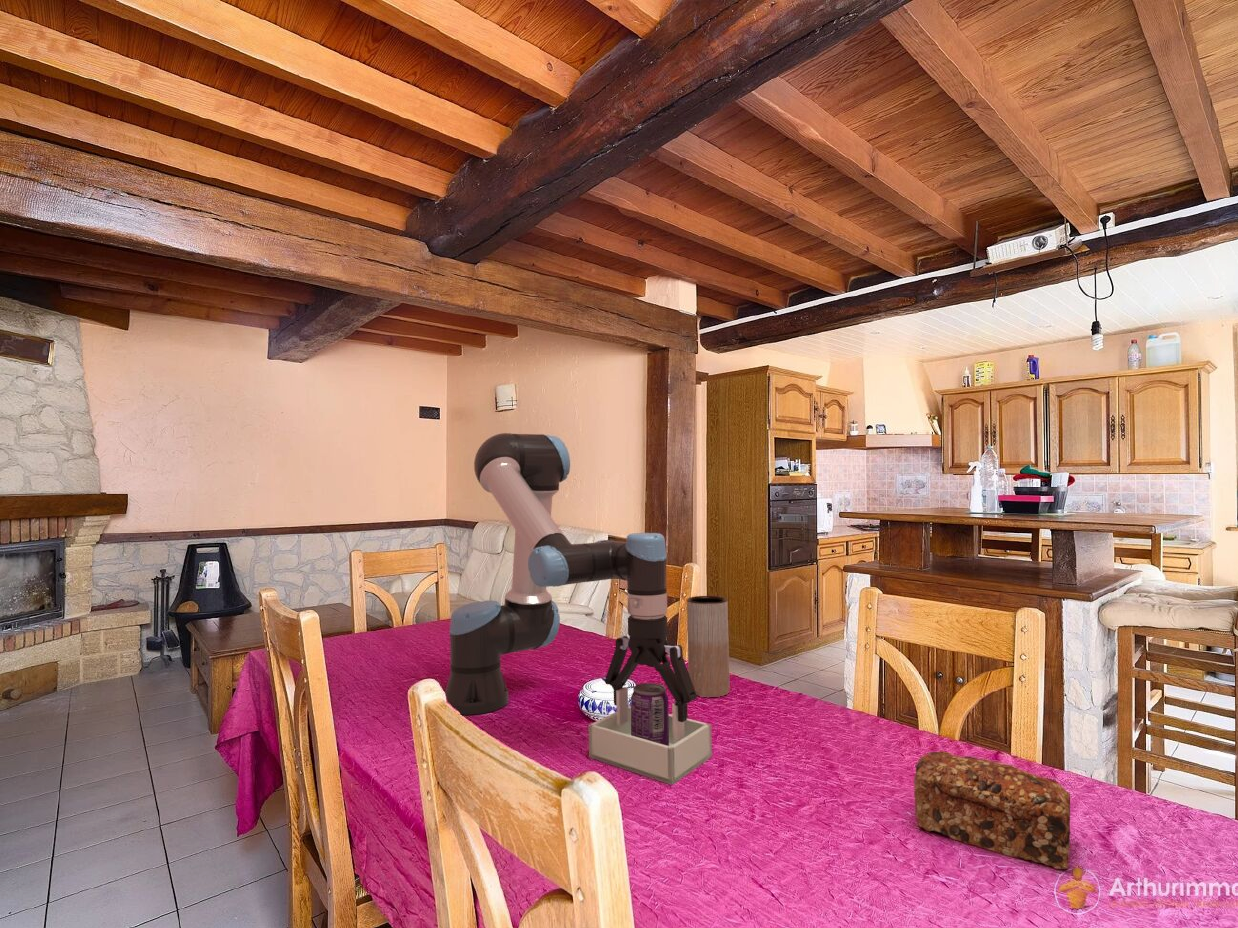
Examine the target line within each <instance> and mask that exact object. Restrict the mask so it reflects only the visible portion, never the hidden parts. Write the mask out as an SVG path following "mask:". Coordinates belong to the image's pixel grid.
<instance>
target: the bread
mask: <svg viewBox="0 0 1238 928" xmlns="http://www.w3.org/2000/svg"><path fill="white" fill-rule="evenodd" d="M914 774H915V776H914V779H913V781H914V782H913V784H914V785H913V787H914V789H913V790H914V791H913V793H914V794H913V797H914V806H915V807H914V809H915V810H914V812H915V814H916V815H915V816H916V819H917V824H918V827H919V828H921V829H924V830H925V831H926V832H929V833H930V832H932V831H934V832H937V833H941V834H942V835H943V836H946V837H949V838H950V839H953V840H954V841H958V842H962V843H964V844H969V845H972V846H974V847H975V846H976V847H978V848H981V849H984V850H988V851H991V852H994V853H997V854H1001V855H1004V856H1007V857H1011V858H1014V859H1016V858H1017V859H1018V858H1019V859H1023V860H1025V861H1028V860H1030V861H1031V862H1034V863H1040V864H1044V865H1046V866H1051V867H1052V868H1053V869H1055V870H1064V869H1065V870H1066V869H1067V868H1068V867H1069V858H1070V850H1071V849H1070V848H1071V847H1070V845H1071V844H1070V843H1071V842H1070V841H1071V822H1070V821H1071V793H1070V792H1068V791H1067V790H1066V789H1065V787H1064V786H1062V785H1061V784H1060V783H1059V781H1057V780H1055V779H1052V778H1047V777H1042V776H1039V775H1037V774H1035V773H1032V772H1029V771H1025V770H1023V769H1020V768H1017V767H1016V766H1013V765H1011V764H1006V763H1002V762H996V761H992V760H989V759H983V758H977V757H973V756H969V755H968V756H967V755H966V756H963V757H962V756H959V755H956V754H953V753H951V752H948V751H943V750H941V751H929V752H928V753H926V754H924V755H922V756H921V757H920V759H918V761H917V764H916V765H915V773H914Z"/></svg>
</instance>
